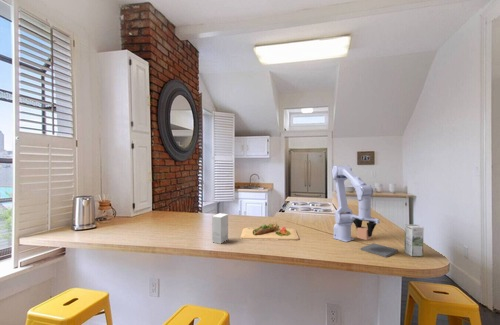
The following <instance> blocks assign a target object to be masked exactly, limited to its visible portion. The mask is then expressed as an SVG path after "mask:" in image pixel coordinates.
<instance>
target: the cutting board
mask: <svg viewBox="0 0 500 325" xmlns="http://www.w3.org/2000/svg"><path fill="white" fill-rule="evenodd" d="M239 237H240V238H243V239H278V240H277V241H290V240H296V241H299V240H300V238H299V236H298V232H297V231H296V229H295V228H291V227H290V228H289V227H286V226H283V227H280V226H279V225H278V224H277V223H274V222H273V223H269V224H265V223H263V224H262V225H260V226H259V227H244V228H242V231H241V234H240V236H239ZM240 238H239V239H240Z"/></svg>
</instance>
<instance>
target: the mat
mask: <svg viewBox="0 0 500 325" xmlns="http://www.w3.org/2000/svg"><path fill="white" fill-rule="evenodd" d="M360 251H363V252H366V253H370V254H374V255H377V256H380V257H384V258H388V257H390V256H392V255H394V254H396V253H398V252H399V249H397V248H393V247H389V246H386V245H381V244H377V243H371V244H368V245H365V246H362V247H360Z"/></svg>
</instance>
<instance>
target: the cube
mask: <svg viewBox="0 0 500 325" xmlns="http://www.w3.org/2000/svg"><path fill="white" fill-rule="evenodd" d="M356 235H357V237H356V238H357V239H361V240H364V241H368V240H370V239H373V235H372V236H370V237H369V236H368V227H367V226H363V225H362V227H359V228H356Z"/></svg>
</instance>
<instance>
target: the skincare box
mask: <svg viewBox="0 0 500 325" xmlns="http://www.w3.org/2000/svg"><path fill="white" fill-rule="evenodd" d="M211 222H212V223H211V226H212V228H211V229H212V230H211V232H212V233H211V243H212V242H215V243H214V244H217V243H222V244H224V243H225V242H227V241H229V214H228V213H221V212H219V213H216V214H215V215H212V217H211ZM226 240H227V241H226ZM224 241H225V242H224ZM223 242H224V243H223Z"/></svg>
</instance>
